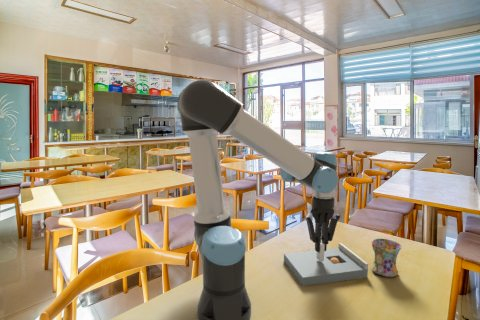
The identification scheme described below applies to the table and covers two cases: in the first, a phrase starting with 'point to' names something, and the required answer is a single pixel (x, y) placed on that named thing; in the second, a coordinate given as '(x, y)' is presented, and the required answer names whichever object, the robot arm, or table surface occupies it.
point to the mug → (385, 257)
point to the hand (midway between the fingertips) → (320, 259)
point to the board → (326, 266)
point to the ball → (334, 260)
